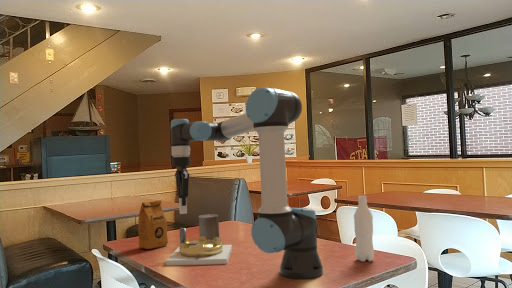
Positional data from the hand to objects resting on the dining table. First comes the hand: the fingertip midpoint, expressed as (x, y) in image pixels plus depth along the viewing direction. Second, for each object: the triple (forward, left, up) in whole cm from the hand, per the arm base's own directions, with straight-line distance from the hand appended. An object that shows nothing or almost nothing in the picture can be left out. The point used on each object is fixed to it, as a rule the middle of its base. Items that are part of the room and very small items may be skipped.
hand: (183, 213), depth 165 cm
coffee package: (+25, +20, -20) cm, 37 cm away
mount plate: (+5, -6, -19) cm, 21 cm away
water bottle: (-7, -72, -19) cm, 75 cm away
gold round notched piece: (+5, -6, -17) cm, 19 cm away
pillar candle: (+29, -6, -20) cm, 35 cm away
